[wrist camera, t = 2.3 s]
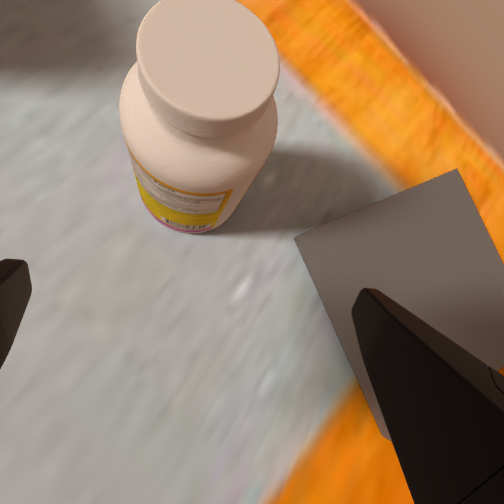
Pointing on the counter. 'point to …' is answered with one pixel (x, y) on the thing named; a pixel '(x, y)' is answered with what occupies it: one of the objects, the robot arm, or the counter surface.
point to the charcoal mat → (413, 270)
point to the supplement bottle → (199, 109)
